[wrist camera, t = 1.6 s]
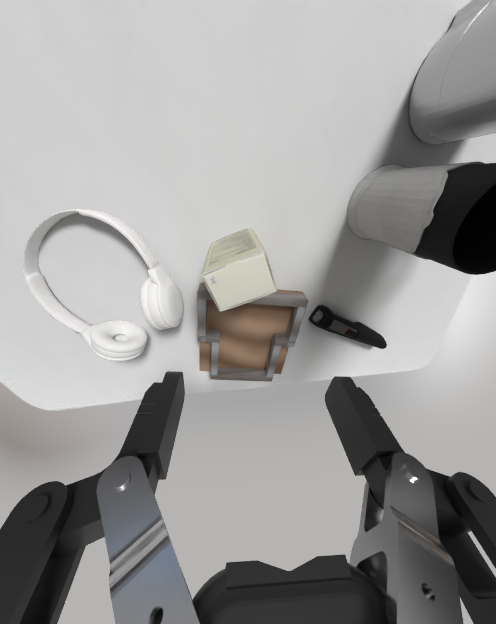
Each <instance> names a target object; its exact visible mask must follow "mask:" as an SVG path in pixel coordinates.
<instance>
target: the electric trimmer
mask: <svg viewBox="0 0 496 624" xmlns="http://www.w3.org/2000/svg"><path fill="white" fill-rule="evenodd" d="M309 320H310V321H311V322H312V323H313V324H314V325H315V326H317V327H319V328H322V329H324V330H327V331H329V332H332V333H335V334H338V335H341V336H344V337H347V338H350V339H353V340H356V341H359V342H362V343H365V344H368V345H371V346H375V347H378V348H381V349H384V348H386V346H387V344H386V341H385V340H384V338H383V337H382V336H381V335H380V334H378V333H377V332H375V331H374V330H372V329H370V328H369V327H367V326H365V325H364V324H362V323H360V322H355V323H353V322H350V321H348V320H346V319H344V318H341V317H339V316H337V315H335V314H333V313H332V312H331V311H330V310H329V309H328V308H327V307H325V306H318V307H317V308H316V309H315V310H314V312H313V313H312V314H311V316H310V317H309Z"/></svg>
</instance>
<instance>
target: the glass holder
mask: <svg viewBox="0 0 496 624" xmlns="http://www.w3.org/2000/svg"><path fill="white" fill-rule="evenodd" d="M347 220H348V224H349V227H350V229H351V230H352V232H353V233H354V234H355V235H356V236H358V237H360V238H363V239H369V240H371V239H375V240H377V241H380V242H382V243H385V244H387V245H390V246H392V247H395V248H397V249H400V250H402V251H405V252H407V253H409V254H412V255H414V256H417V257H420V258H423V259H430V260H433V261H435V262H438V263H441V264H443V265H446V266H448V267H451V268H453V269H456V270H459V271H461V272H464V273H467V274H475V275H478V274H486V273H489V272H494V271H496V163H490V164H485V163H482V162H470V163H458V164H447V165H436V166H424V167H413V168H404V167H402V166H399V165H386V166H383V167H380V168H378V169H376V170H374V171H372V172H371V173H370V174H368V175H367V176H366V177H365V178H364V179H363V180H362V181H361V182H360V183H359V184H358V186H357V187H356V189H355V190H354V192H353V194H352V196H351V198H350V201H349V204H348V210H347Z"/></svg>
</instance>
